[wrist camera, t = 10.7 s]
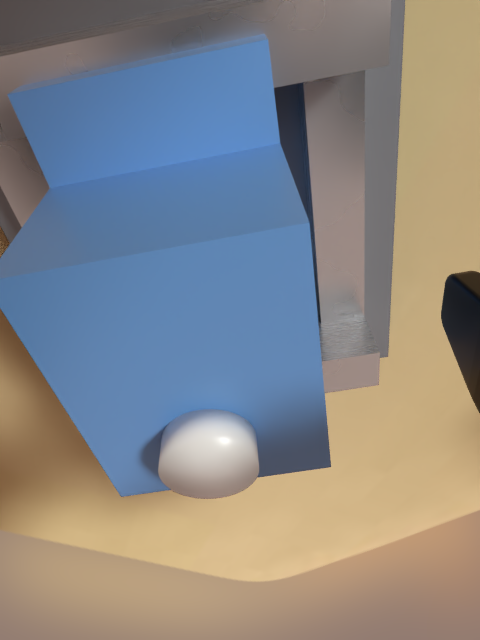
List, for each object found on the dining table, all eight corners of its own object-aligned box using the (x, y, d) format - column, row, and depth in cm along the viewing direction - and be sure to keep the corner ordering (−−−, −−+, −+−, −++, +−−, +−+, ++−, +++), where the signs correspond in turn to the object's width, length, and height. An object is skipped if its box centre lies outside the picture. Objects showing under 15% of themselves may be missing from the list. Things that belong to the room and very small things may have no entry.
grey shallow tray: (393, -147, 8) (482, -199, 6) (379, 336, 16) (414, 415, 13) (-111, -32, 9) (-252, -27, 6) (102, 380, 16) (80, 464, 14)
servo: (253, 18, 9) (307, 95, 4) (293, 323, 14) (340, 537, 9) (60, 59, 9) (-128, 183, 4) (167, 345, 14) (141, 563, 9)
